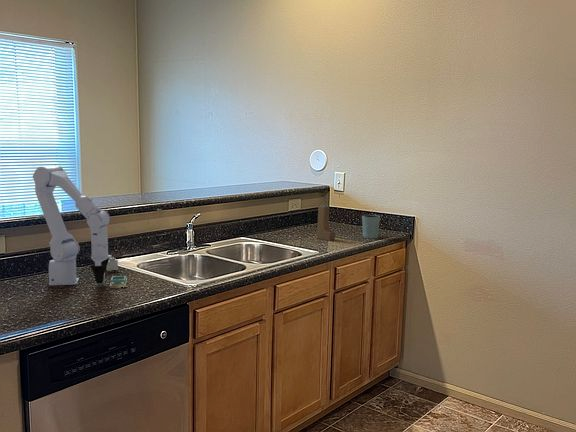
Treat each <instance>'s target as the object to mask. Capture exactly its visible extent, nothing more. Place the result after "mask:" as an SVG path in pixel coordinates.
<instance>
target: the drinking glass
mask: <svg viewBox="0 0 576 432" xmlns="http://www.w3.org/2000/svg"><path fill="white" fill-rule="evenodd" d="M361 219H362V222H361V223H362V238H364V237H365V239H378V238H379V229H380V222H381V216H380V215H378V214H363V215H362V216H361Z"/></svg>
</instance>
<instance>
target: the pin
mask: <svg viewBox="0 0 576 432" xmlns="http://www.w3.org/2000/svg"><path fill="white" fill-rule="evenodd" d="M103 286H106V274H105V272H104V279H103V283H96V288H104V287H103Z"/></svg>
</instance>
